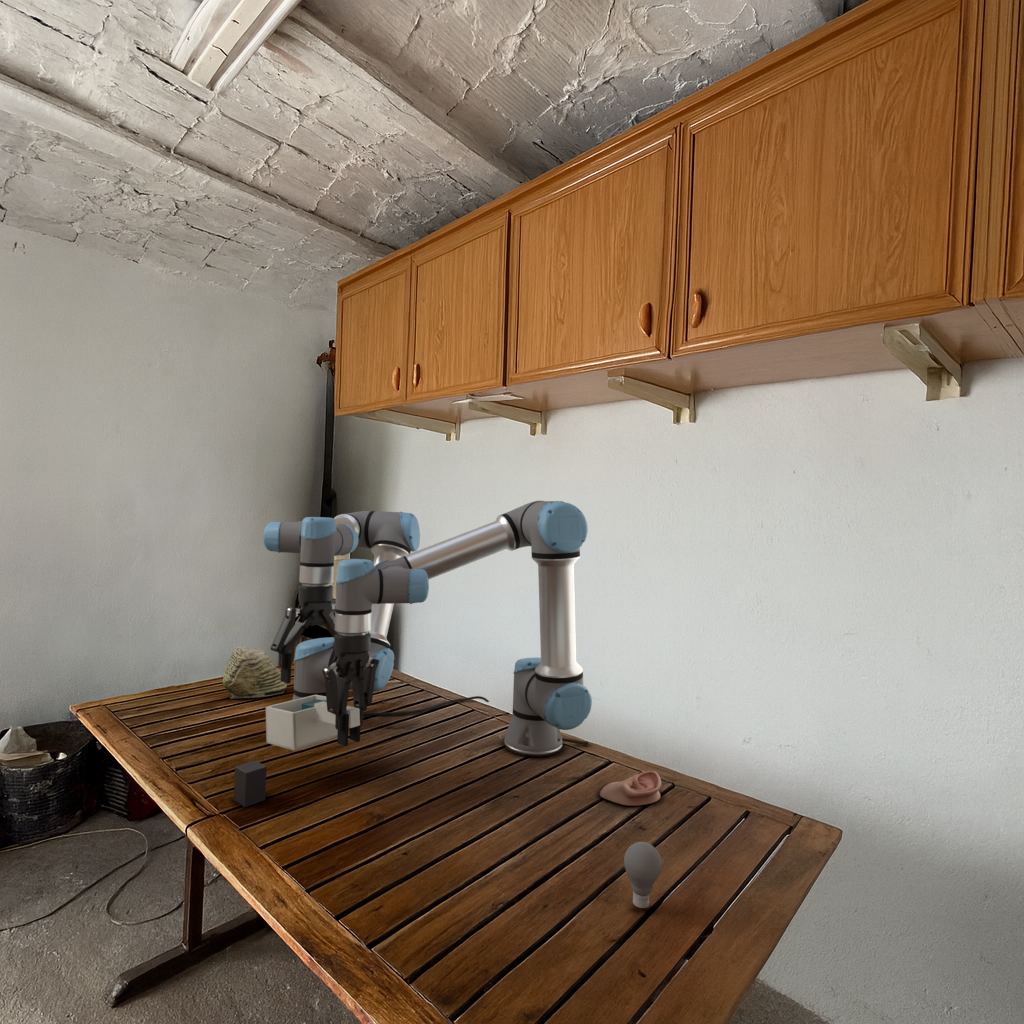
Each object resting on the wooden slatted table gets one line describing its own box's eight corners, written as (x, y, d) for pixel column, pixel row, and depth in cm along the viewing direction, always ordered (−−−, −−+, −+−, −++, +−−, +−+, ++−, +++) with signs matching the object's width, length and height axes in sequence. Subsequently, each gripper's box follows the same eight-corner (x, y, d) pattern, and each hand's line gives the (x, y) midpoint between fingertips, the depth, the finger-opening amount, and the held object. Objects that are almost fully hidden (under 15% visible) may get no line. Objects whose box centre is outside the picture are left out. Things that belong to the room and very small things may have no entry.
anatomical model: (599, 783, 136) (602, 762, 148) (598, 802, 136) (601, 779, 148) (662, 792, 134) (661, 769, 145) (661, 810, 134) (660, 787, 145)
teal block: (318, 729, 150) (317, 699, 150) (330, 731, 147) (329, 701, 148) (302, 734, 146) (301, 703, 147) (314, 736, 144) (313, 705, 144)
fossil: (218, 695, 195) (220, 647, 195) (278, 685, 208) (279, 640, 207) (228, 703, 189) (230, 653, 188) (289, 692, 201) (290, 645, 201)
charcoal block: (254, 792, 134) (255, 760, 134) (265, 799, 131) (266, 766, 131) (233, 800, 131) (234, 766, 131) (244, 807, 128) (246, 773, 128)
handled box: (316, 728, 153) (315, 691, 154) (381, 743, 138) (379, 702, 139) (266, 742, 143) (265, 703, 143) (329, 761, 128) (328, 717, 129)
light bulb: (617, 894, 104) (620, 834, 104) (653, 893, 105) (656, 834, 105) (627, 918, 98) (630, 854, 98) (664, 917, 99) (668, 854, 99)
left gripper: (350, 579, 157) (346, 664, 158) (256, 586, 138) (252, 683, 138) (369, 582, 153) (366, 670, 153) (275, 590, 133) (271, 690, 133)
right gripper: (370, 624, 143) (366, 728, 143) (310, 634, 131) (306, 747, 131) (392, 630, 138) (388, 737, 139) (332, 640, 126) (328, 757, 126)
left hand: (312, 676), depth 146 cm, fingers open, 13 cm apart
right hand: (348, 741), depth 135 cm, fingers closed on handled box, 2 cm apart
